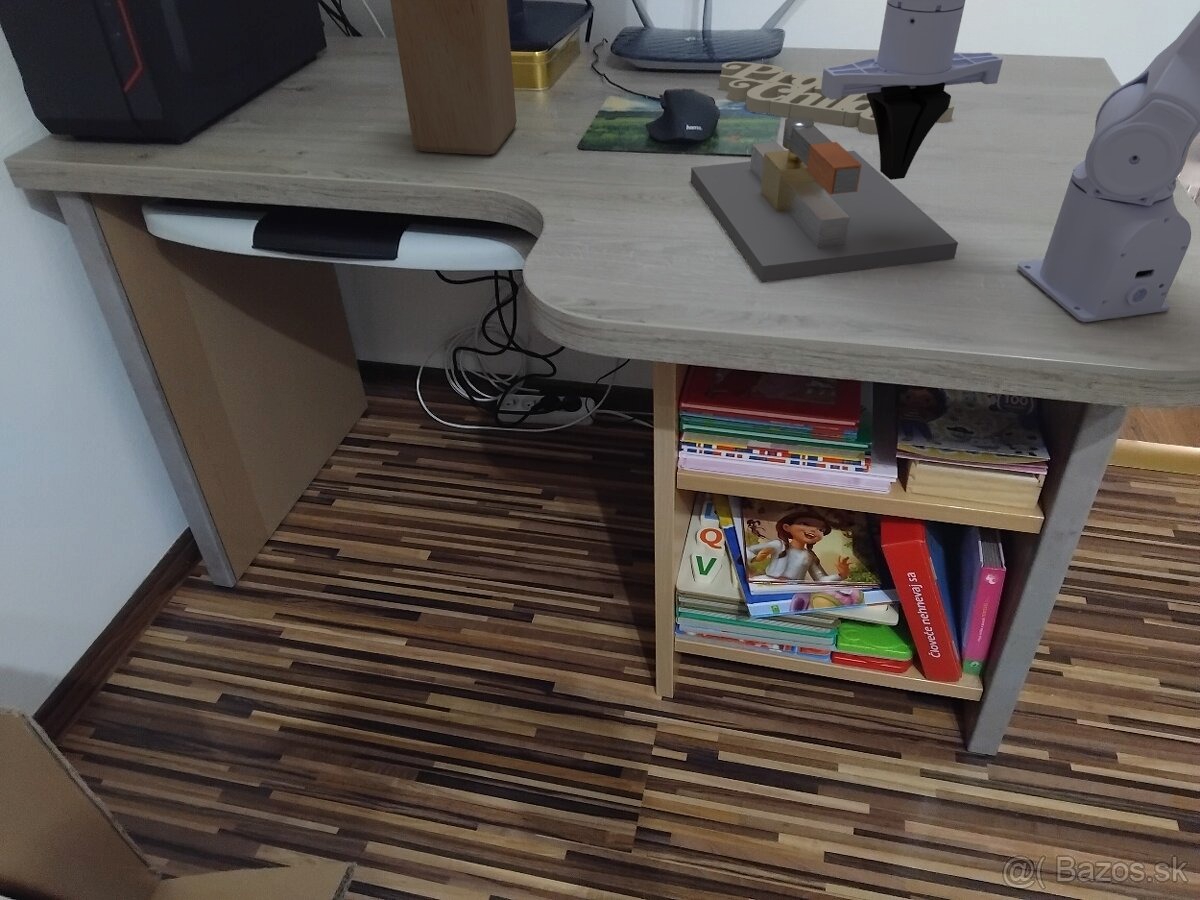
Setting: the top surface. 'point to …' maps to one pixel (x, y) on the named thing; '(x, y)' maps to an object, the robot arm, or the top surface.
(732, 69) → the decorative sign
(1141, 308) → the robot arm
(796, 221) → the ball valve
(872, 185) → the mounting board
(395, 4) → the block
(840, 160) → the valve lever
